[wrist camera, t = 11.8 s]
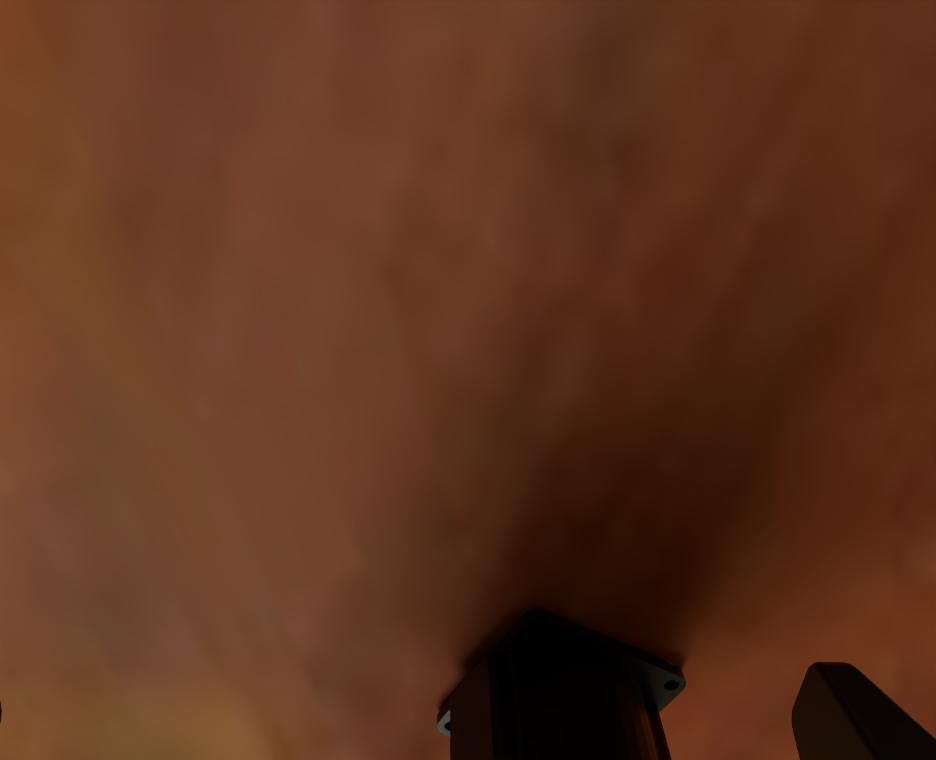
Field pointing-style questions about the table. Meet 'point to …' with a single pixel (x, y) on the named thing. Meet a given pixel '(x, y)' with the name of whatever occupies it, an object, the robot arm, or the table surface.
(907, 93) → the table surface
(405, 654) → the table surface
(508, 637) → the robot arm
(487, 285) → the table surface
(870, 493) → the table surface
